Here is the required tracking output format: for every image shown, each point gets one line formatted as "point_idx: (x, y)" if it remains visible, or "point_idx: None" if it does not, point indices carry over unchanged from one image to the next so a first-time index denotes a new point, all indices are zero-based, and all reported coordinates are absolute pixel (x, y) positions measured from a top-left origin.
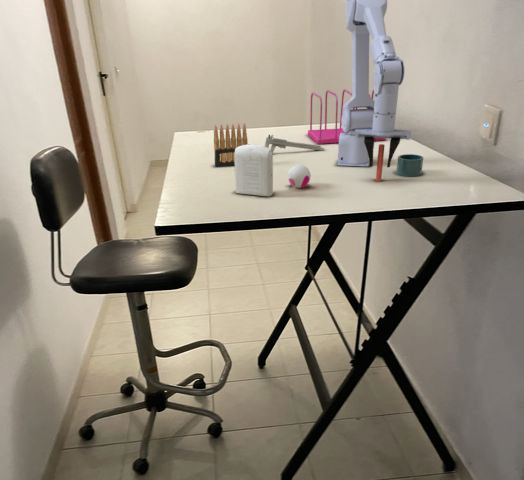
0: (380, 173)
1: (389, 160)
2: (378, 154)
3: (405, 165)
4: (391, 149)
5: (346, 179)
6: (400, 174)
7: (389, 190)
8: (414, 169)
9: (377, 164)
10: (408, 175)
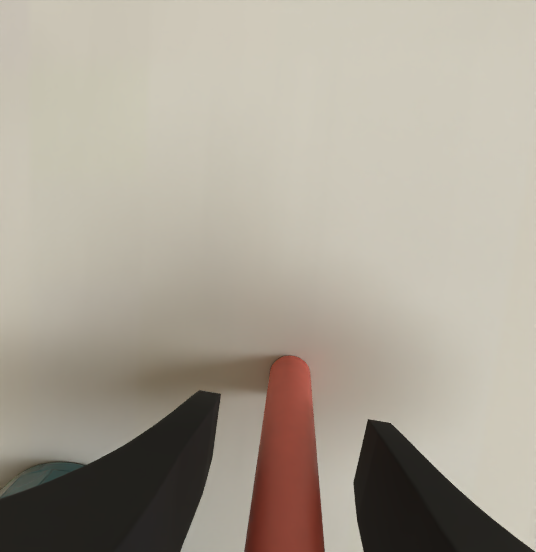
0: (279, 383)
1: (184, 418)
2: (319, 526)
3: None
4: (113, 495)
5: (530, 407)
6: None
7: (226, 109)
8: None
9: (314, 442)
10: (73, 468)
